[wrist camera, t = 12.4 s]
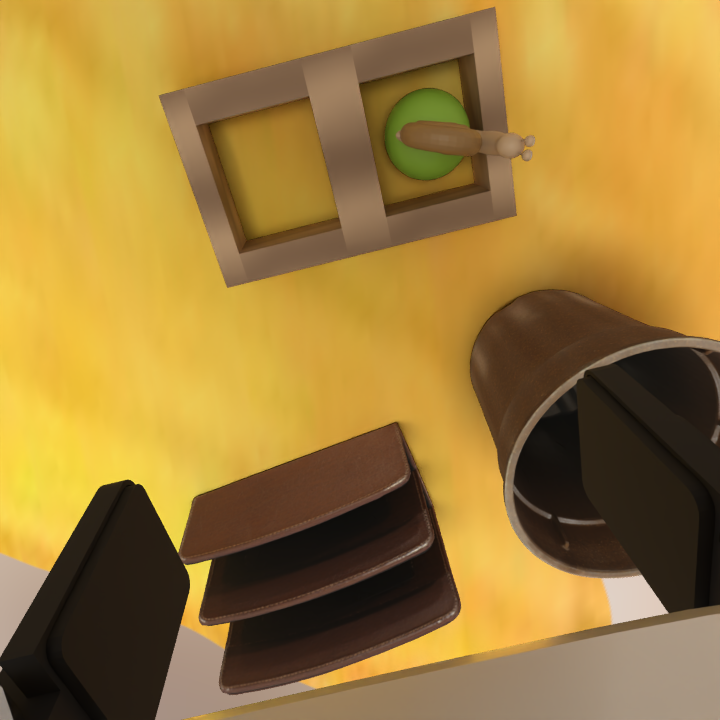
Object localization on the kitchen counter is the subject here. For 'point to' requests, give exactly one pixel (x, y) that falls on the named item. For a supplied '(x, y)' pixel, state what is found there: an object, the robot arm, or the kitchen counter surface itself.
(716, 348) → the plant pot
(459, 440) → the kitchen counter surface
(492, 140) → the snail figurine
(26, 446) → the kitchen counter surface
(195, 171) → the brown wooden flat frame
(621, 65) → the kitchen counter surface
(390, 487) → the letter holder
